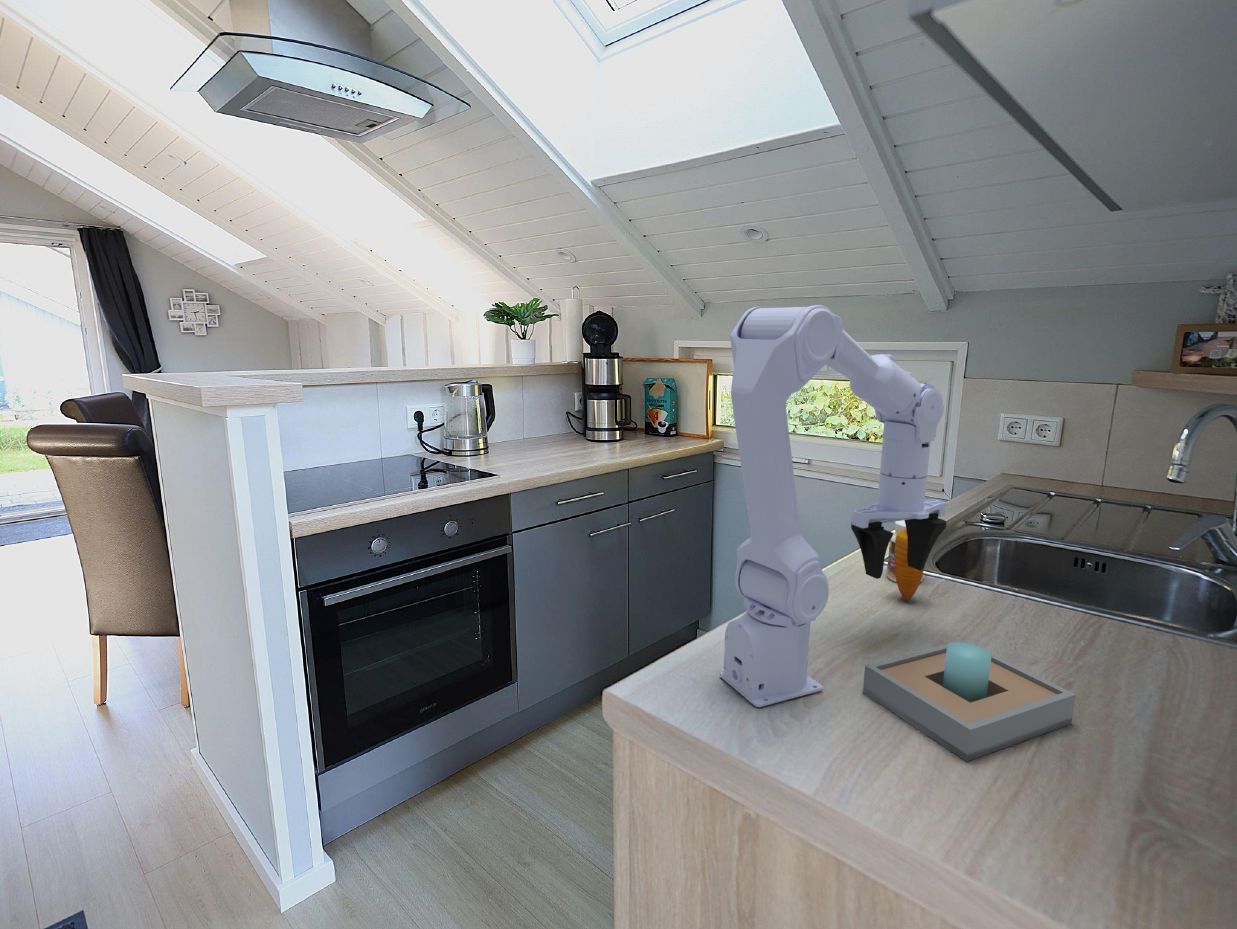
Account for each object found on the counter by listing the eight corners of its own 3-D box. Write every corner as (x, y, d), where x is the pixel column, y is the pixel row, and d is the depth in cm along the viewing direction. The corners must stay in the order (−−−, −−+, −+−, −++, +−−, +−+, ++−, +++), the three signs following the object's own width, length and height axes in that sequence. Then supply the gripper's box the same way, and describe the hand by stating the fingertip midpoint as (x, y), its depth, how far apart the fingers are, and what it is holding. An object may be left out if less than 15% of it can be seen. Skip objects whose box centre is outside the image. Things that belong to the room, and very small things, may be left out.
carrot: (917, 595, 108) (926, 504, 105) (928, 607, 103) (938, 513, 100) (885, 593, 108) (893, 503, 105) (894, 606, 103) (903, 512, 100)
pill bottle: (879, 574, 116) (884, 519, 114) (908, 572, 118) (913, 517, 116) (900, 586, 111) (905, 529, 109) (930, 583, 112) (936, 526, 110)
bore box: (966, 761, 66) (970, 729, 66) (862, 692, 79) (865, 665, 78) (1071, 723, 73) (1075, 694, 72) (959, 665, 85) (962, 639, 85)
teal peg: (964, 715, 73) (970, 664, 72) (932, 695, 77) (937, 646, 76) (994, 707, 75) (1000, 657, 73) (961, 687, 79) (966, 639, 77)
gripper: (884, 485, 82) (875, 590, 85) (968, 475, 88) (958, 573, 91) (843, 474, 88) (836, 572, 91) (925, 465, 94) (916, 557, 97)
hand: (894, 571), depth 91 cm, fingers open, 7 cm apart
